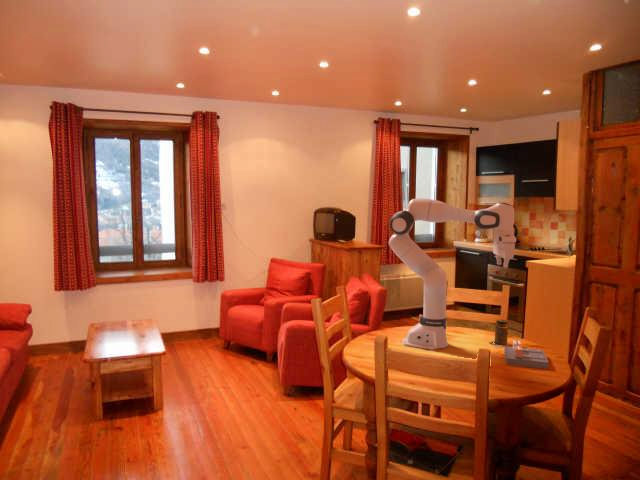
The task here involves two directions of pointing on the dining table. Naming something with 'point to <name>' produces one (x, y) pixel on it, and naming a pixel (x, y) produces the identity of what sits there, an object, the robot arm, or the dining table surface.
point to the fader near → (518, 351)
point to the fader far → (516, 344)
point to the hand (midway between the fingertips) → (502, 266)
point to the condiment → (501, 333)
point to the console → (527, 358)
